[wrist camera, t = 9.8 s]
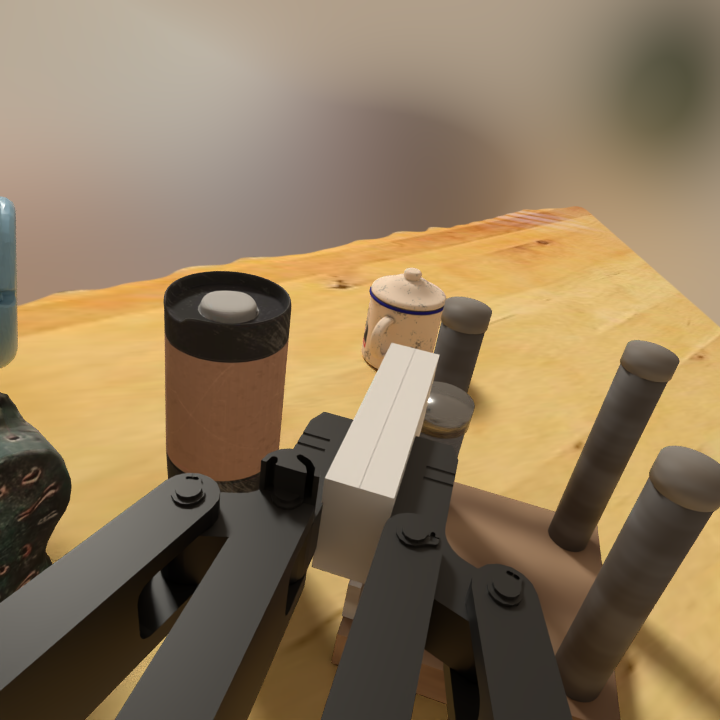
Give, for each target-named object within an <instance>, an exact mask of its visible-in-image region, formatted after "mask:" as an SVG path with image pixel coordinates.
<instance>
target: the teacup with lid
mask: <svg viewBox="0 0 720 720" xmlns="http://www.w3.org/2000/svg"><path fill="white" fill-rule="evenodd" d="M421 276H422V273H421V271H420V270H418V269H416V268H407V269H406V270H405V271H404V274H399V275H390V276H384V277H381V278H379V279H377V280H376V281H375V282H374V283H373V284H372V286H371V287H370V295H371V298H370V304H369V309H368V315H367V321H366V327H365V333H364V338H363V344H362V355H363V357H364V359H365V360H366V361H367V362H368V363H369V364H370V365H372V366H373V367H375V368H377V369H379V367H380V365H381V363H382V361H383V359H384V357H385V355H386V353H387V351H388V349H389V347H390V345H391V343H395V344H399V345H403V346H407V347H411V348H415V349H419V350H422V351H426V352H430V353H433V350H434V346H435V342H436V338H437V334H438V329H439V325H440V321H441V316H442V312H443V308H444V304H445V301H446V296H445V294H444V292H443V291H442V290H441V289H440V288H439V287H437V286H436V285H434V284H432V283H430V282H428V281H427V280H425V279H424V278H422V277H421Z"/></svg>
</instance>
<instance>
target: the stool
mask: <svg viewBox="0 0 720 720" xmlns="http://www.w3.org/2000/svg"><path fill="white" fill-rule="evenodd" d="M491 314H492V310H491V309H490V308H489V307H488V306H487V305H486V304H484V303H482V302H480V301H478V300H475V299H471V298H466V297H451V298H448V299H446V301H445V304H444V308H443V312H442V316H441V321H442V322H441V326H440V330H439V334H438V338H437V342H436V347H435V351H434V354H438V355H439V359H438V364H437V368H436V372H435V376H434V380H433V381H436V382H443V383H447V384H451V385H453V386H456V387H458V388H460V389H462V390H463V391H465V392H466V393H467V392H468V388H469V385H470V381H471V378H472V374H473V371H474V367H475V364H476V361H477V357H478V354H479V350H480V347H481V343H482V340H483V336H484V333H485V332H486V330H487V328H488V325H489V321H490V318H491ZM620 363H621V364H620V366H619V368H618V370H617V373H616V375H615V377H614V380H613V382H612V384H611V386H610V389H609V391H608V393H607V396H606V398H605V400H604V402H603V405H602V407H601V409H600V412H599V414H598V416H597V418H596V421H595V423H594V425H593V428H592V430H591V432H590V434H589V437H588V439H587V441H586V443H585V446H584V448H583V450H582V453H581V455H580V457H579V459H578V462H577V464H576V466H575V469H574V471H573V473H572V475H571V478H570V480H569V482H568V485H567V487H566V489H565V491H564V494H563V496H562V498H561V501H560V503H559V505H558V507H557V510H556V512H554V511H551V510H548V509H544V508H541V507H538V506H534V505H531V504H527V503H524V502H521V501H517V500H514V499H511V498H507V497H504V496H500V495H497V494H494V493H490V492H487V491H483V490H480V489H477V488H473V487H470V486H467V485H463V484H460V483H456V482H454V485H453V490H452V495H451V501H450V506H449V511H448V517H447V522H446V528H445V534H446V538H447V541H448V543H449V544H450V546H451V548H452V549H453V550H454V551H455V552H456V553H457V555H458V556H460V557H461V558H462V559H464V560H465V561H467V562H468V563H470V564H471V565H473V566H475V567H476V568H480V567H482V566H484V565H486V564H502V565H506V566H509V567H512V568H514V569H515V570H517V571H519V572H520V573H522V574H524V576H525V577H526V578H527V579H528V580H529V581H530V582H531V583H532V584H533V586H534V588H535V590H536V592H537V594H538V597H539V601H540V604H541V608H542V611H543V615H544V619H545V622H546V626H547V629H548V633H549V636H550V640H551V644H552V647H553V651H554V654H555V658H556V661H557V665H558V669H559V672H560V676H561V679H562V683H563V686H564V690H565V693H566V697H567V701H568V704H569V708H570V711H571V715H572V718H573V720H620V712H619V704H618V696H617V687H616V679H615V668H616V667H617V665H618V663H619V662H620V660H621V659H622V657H623V655H624V654H625V652H626V651H627V649H628V647H629V646H630V644H631V643H632V641H633V639H634V638H635V636H636V635H637V633H638V631H639V630H640V628H641V627H642V625H643V624H644V622H645V620H646V619H647V617H648V616H649V614H650V612H651V611H652V609H653V608H654V606H655V604H656V603H657V601H658V600H659V598H660V596H661V595H662V593H663V592H664V590H665V588H666V587H667V585H668V584H669V582H670V580H671V579H672V577H673V576H674V574H675V572H676V571H677V569H678V568H679V566H680V564H681V563H682V561H683V560H684V558H685V556H686V555H687V553H688V552H689V550H690V548H691V547H692V545H693V544H694V542H695V540H696V539H697V537H698V536H699V534H700V532H701V531H702V529H703V528H704V526H705V525H706V523H707V521H708V520H709V518H710V517H711V515H712V513H713V512H714V511H715V510H717V509H718V508H719V507H720V464H719V463H718V462H716V461H715V460H713V459H712V458H710V457H709V456H707V455H705V454H703V453H701V452H698V451H696V450H693V449H690V448H686V447H681V446H668V447H665V448H663V449H661V451H660V452H659V454H658V456H657V458H656V460H655V462H654V464H653V466H652V468H651V470H650V472H649V478H648V480H647V482H646V484H645V486H644V488H643V490H642V492H641V494H640V495H639V497H638V499H637V501H636V503H635V505H634V507H633V509H632V511H631V513H630V514H629V516H628V518H627V520H626V522H625V524H624V526H623V528H622V530H621V531H620V533H619V535H618V537H617V539H616V541H615V543H614V545H613V547H612V549H611V550H610V552H609V554H608V556H607V558H606V560H605V562H604V564H603V566H602V561H601V553H600V544H599V536H598V527H597V524H598V522H599V520H600V518H601V516H602V514H603V512H604V510H605V508H606V505H607V503H608V501H609V499H610V497H611V495H612V493H613V491H614V489H615V487H616V485H617V483H618V481H619V479H620V477H621V475H622V473H623V471H624V469H625V467H626V465H627V463H628V461H629V459H630V457H631V455H632V453H633V451H634V449H635V447H636V445H637V443H638V441H639V439H640V437H641V435H642V433H643V431H644V429H645V427H646V425H647V423H648V421H649V419H650V417H651V415H652V413H653V410H654V408H655V406H656V404H657V402H658V400H659V398H660V396H661V394H662V392H663V390H664V388H665V386H666V384H667V382H668V381H670V380H671V378H672V376H673V374H674V372H675V370H676V368H677V366H678V364H679V358H678V357H677V356H676V355H675V354H674V353H673V352H671V351H670V350H668V349H666V348H664V347H662V346H660V345H657V344H654V343H651V342H647V341H640V340H634V341H630V342H628V344H627V346H626V348H625V350H624V353H623V355H622V357H621V359H620ZM364 585H365V584H363V583H360V582H357V581H354V580H351V579H350V581H349V584H348V588H347V593H346V598H345V603H344V608H343V612H342V616H343V619H342V622H341V624H340V627H339V630H338V633H337V637H336V642H335V647H334V652H333V657H332V662H331V663H333V664H336V665H339V662H340V659H341V656H342V653H343V650H344V647H345V644H346V641H347V637H348V634H349V631H350V628H351V625H352V622H353V619H354V616H355V613H356V610H357V607H358V604H359V600H360V597H361V594H362V591H363V588H364ZM416 693H417V694H420V695H423V696H425V697H428V698H431V699H434V700H437V701H439V702H442V703H445V704H447V700H446V691H445V681H444V671H443V662H442V661H440V660H439V659H437V658H436V657H435V656H433V655H432V654H430V653H429V652H427V651H426V650H425V649H424V653H423V659H422V664H421V669H420V674H419V680H418V685H417V690H416Z"/></svg>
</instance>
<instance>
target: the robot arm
mask: <svg viewBox="0 0 720 720" xmlns="http://www.w3.org/2000/svg"><path fill="white" fill-rule="evenodd" d="M15 215H16V214H15V207H14V204H13V202H12V201H10V200H9V199H7V198H5V197H0V368H3V367H5V366H6V365H8V364H9V363H10V362H11V361H12V360H13V359H14V357H15V356H16V353H17V348H18V332H17V273H16V272H17V269H16V216H15ZM438 359H439V355H438V354H434V353H430V352H426V351H422V350H419V349H415V348H411V347H407V346H403V345H399V344H395V343H391V345H390V347H389V349H388V351H387V353H386V355H385V357H384V359H383V361H382V363H381V365H380V367H379V369H378V371H377V373H376V375H375V377H374V379H373V381H372V383H371V385H370V387H369V389H368V391H367V393H366V395H365V397H364V400H363V402H362V404H361V406H360V408H359V410H358V412H357V414H356V416H355V418H354V420H352V419H348V418H345V417H341V416H338V415H334V414H330V413H327V412H323V413H322V414H320V415H318V416H317V417H315V418H313V419H312V420H311V421H310V422H309V424H308V425H307V427H306V429H305V430H304V432H303V434H302V435H301V437H300V439H299V440H298V443H297V444H296V445H295V447H294V449H280V450H276V451H273V452H271V453H269V454H267V455H266V456H265V457H264V458H263V459H262V460H261V468H260V482H259V490H258V491H253V492H249V493H227V492H220V489H219V487H218V484H217V483H216V482H215V481H214V480H213V479H212V478H210V477H208V476H205V475H203V474H200V473H184V474H180V475H175V476H173V477H171V478H170V479H168V480H166V481H164V482H163V483H162V484H160V485H159V486H158V487H156V488H155V489H154V490H152V491H151V492H149V493H148V494H147V495H145V496H144V497H143V498H141V499H140V500H139V501H137V502H136V503H135V504H133V505H132V506H131V507H129V508H128V509H127V510H125V511H124V512H122V513H121V514H120V515H118V516H117V517H116V518H114V519H113V520H112V521H110V522H109V523H108V524H106V525H105V526H104V527H102V528H101V529H100V530H98V531H97V532H95V533H94V534H93V535H91V536H90V537H89V538H87V539H86V540H85V541H83V542H82V543H81V544H79V545H78V546H77V547H75V548H74V549H73V550H71V551H70V552H68V553H67V554H66V555H64V556H63V557H62V558H60V559H59V560H58V561H56V562H55V563H54V564H52V565H51V566H50V567H48V568H47V569H46V570H44V571H43V572H41V573H40V574H39V575H37V576H36V577H35V578H33V579H32V580H31V581H29V582H28V583H27V584H25V585H24V586H23V587H21V588H20V589H19V590H17V591H16V592H14V593H13V594H12V595H10V596H9V597H8V598H6V599H5V600H4V601H2V602H1V603H0V720H85V719H86V718H87V717H88V716H89V715H90V714H91V713H92V712H93V711H94V710H95V709H96V707H97V706H98V705H99V704H100V703H101V702H102V701H103V700H104V699H105V698H106V697H107V696H108V695H109V694H110V693H111V692H112V691H113V690H114V689H115V688H116V687H117V686H118V685H119V684H120V683H121V682H122V681H123V680H124V679H125V678H126V677H127V676H128V675H129V674H130V673H131V672H132V671H133V669H134V668H135V667H136V666H137V665H138V664H139V663H140V662H141V661H142V660H143V659H144V658H145V657H146V656H147V655H148V654H149V653H150V652H151V651H152V650H153V649H154V648H155V647H156V646H157V645H158V644H159V643H160V642H161V641H162V640H163V639H164V638H165V637H166V636H167V637H166V638H165V640H164V642H163V643H162V645H161V646H160V648H159V650H158V651H157V653H156V654H155V656H154V658H153V659H152V661H151V662H150V664H149V666H148V667H147V669H146V670H145V672H144V674H143V675H142V677H141V678H140V680H139V682H138V683H137V685H136V686H135V688H134V690H133V691H132V693H131V694H130V696H129V698H128V699H127V701H126V702H125V704H124V706H123V707H122V709H121V710H120V712H119V714H118V715H117V717H116V718H115V720H247V719H248V716H249V714H250V712H251V709H252V707H253V705H254V702H255V700H256V698H257V695H258V693H259V691H260V688H261V686H262V684H263V681H264V679H265V677H266V674H267V672H268V670H269V667H270V665H271V663H272V660H273V658H274V656H275V653H276V651H277V649H278V646H279V644H280V642H281V639H282V637H283V635H284V632H285V630H286V628H287V625H288V623H289V621H290V618H291V616H292V614H293V611H294V609H295V607H296V604H297V602H298V600H299V597H300V595H301V593H302V590H303V588H304V585H305V579H306V572H307V569H308V566H309V564H310V562H311V559H312V557H313V562H312V567H314V568H317V569H320V570H323V571H326V572H329V573H332V574H335V575H338V576H342V577H345V578H348V579H351V580H354V581H357V582H360V583H363V584H365V585H364V588H363V591H362V594H361V597H360V600H359V604H358V607H357V610H356V613H355V616H354V619H353V622H352V625H351V628H350V631H349V634H348V637H347V641H346V644H345V647H344V650H343V653H342V656H341V659H340V662H339V665H338V668H337V671H336V674H335V678H334V681H333V684H332V687H331V690H330V693H329V696H328V699H327V702H326V705H325V708H324V711H323V715H322V718H321V720H411V716H412V711H413V706H414V701H415V695H416V690H417V685H418V680H419V674H420V669H421V664H422V659H423V653H424V649H425V650H426V651H427V652H429V653H430V654H432V655H433V656H435V657H436V658H437V659H439V660H440V661H442V662H443V671H444V681H445V691H446V700H447V710H448V720H573V718H572V715H571V711H570V708H569V704H568V701H567V697H566V693H565V690H564V686H563V683H562V679H561V676H560V672H559V669H558V665H557V661H556V658H555V654H554V651H553V647H552V644H551V640H550V636H549V633H548V629H547V626H546V622H545V619H544V615H543V611H542V608H541V604H540V601H539V597H538V594H537V592H536V590H535V588H534V586H533V584H532V583H531V582H530V581H529V580H528V579H527V578H526V577H525V576H524V574H522V573H520V572H519V571H517V570H515V569H514V568H512V567H509V566H506V565H502V564H486V565H484V566H482V567H480V568H476V567H475V566H473V565H471V564H470V563H468V562H467V561H465V560H464V559H462V558H461V557H460V556H458V555H457V553H456V552H455V551H454V550H453V549H452V548H451V546H450V544H449V543H448V541H447V538H446V534H445V528H446V522H447V517H448V511H449V506H450V501H451V495H452V490H453V485H454V480H455V474H456V469H457V464H458V458H457V456H456V453H455V451H454V448H453V446H451V445H447V444H443V443H440V442H436V441H433V440H429V439H425V438H422V437H419V436H420V432H421V429H422V425H423V421H424V417H425V413H426V409H427V405H428V401H429V396H430V392H431V388H432V384H433V380H434V376H435V372H436V368H437V364H438Z"/></svg>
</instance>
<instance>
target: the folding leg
mask: <svg viewBox="0 0 720 720" xmlns="http://www.w3.org/2000/svg"><path fill="white" fill-rule="evenodd" d="M474 407H475V405H474V402H473V400H472V398H471V397H470V396H469V395H468V394H467V393H466V392H465V391H463V390H462V389H460V388H458V387H456V386H453V385H451V384H447V383H443V382H436V381H433V384H432V388H431V392H430V396H429V401H428V405H427V409H426V413H425V417H424V421H423V425H422V429H421V432H420V436H419V437H422V438H425V439H429V440H433V441H436V442H440V443H443V444H447V445H451V446H453V448H454V451H455V453H456V456H457V457H458V454H459V450H460V447H461V444H462V440H463V437H464V434H465V433H466V432H467V430H468V428H469V424H470V421H471V418H472V414H473V411H474Z"/></svg>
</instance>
